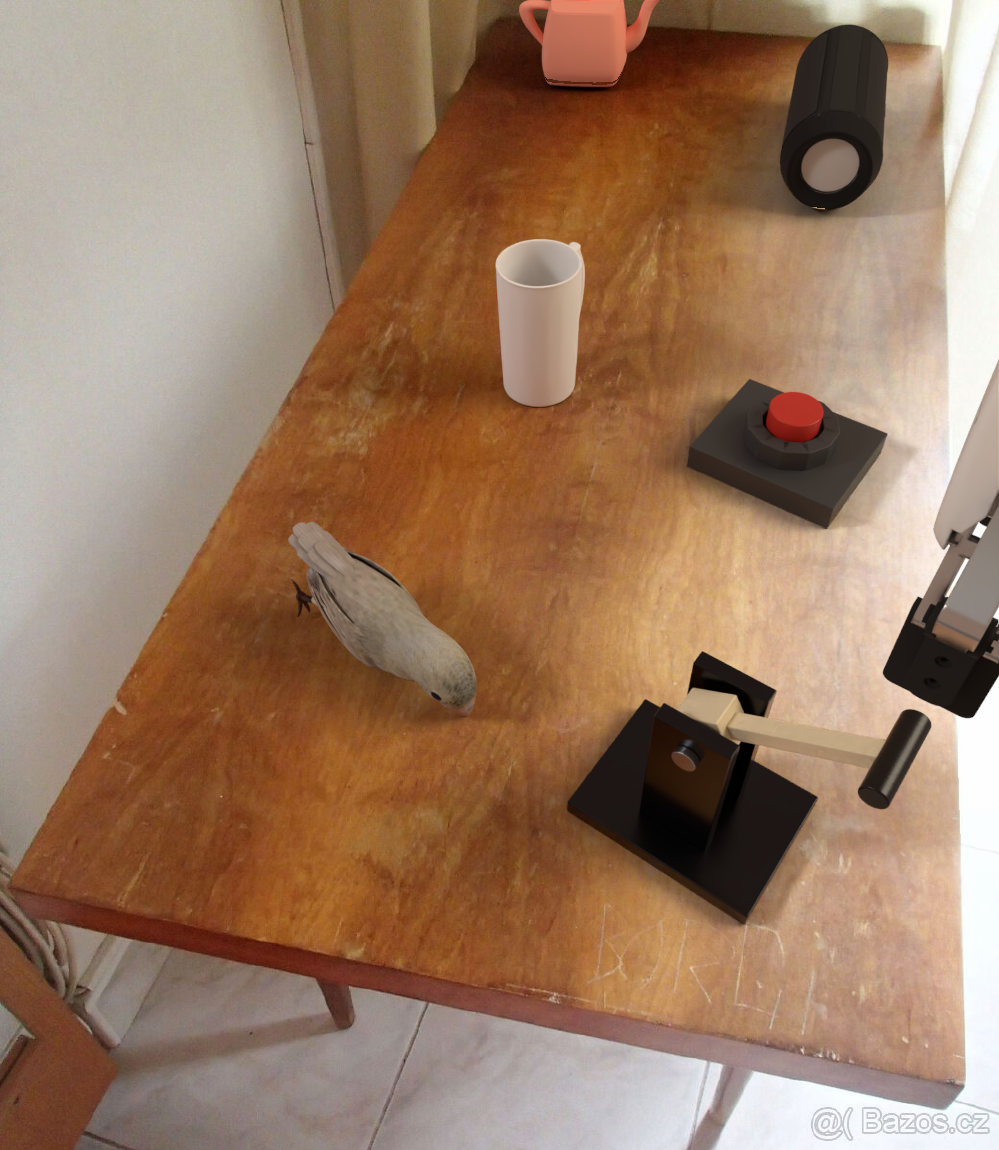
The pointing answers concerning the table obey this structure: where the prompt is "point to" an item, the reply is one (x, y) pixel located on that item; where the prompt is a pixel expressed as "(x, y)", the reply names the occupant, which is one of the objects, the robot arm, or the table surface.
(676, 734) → the lever stand
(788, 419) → the red button
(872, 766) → the lever handle
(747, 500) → the table surface
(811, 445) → the control block
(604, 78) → the teapot
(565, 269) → the mug
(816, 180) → the portable speaker
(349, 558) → the decorative bird
